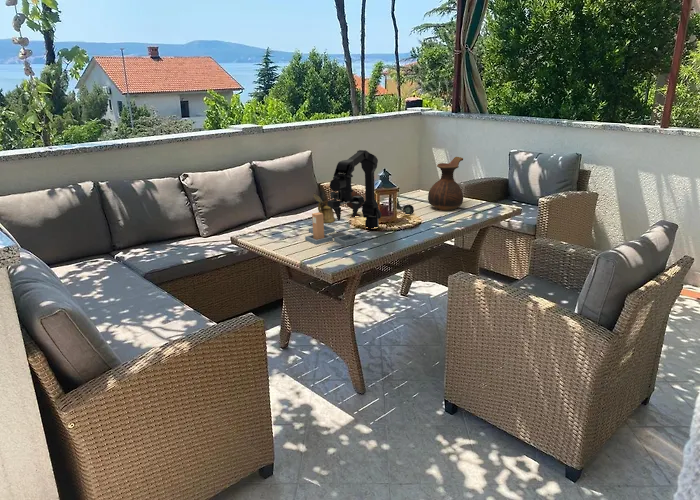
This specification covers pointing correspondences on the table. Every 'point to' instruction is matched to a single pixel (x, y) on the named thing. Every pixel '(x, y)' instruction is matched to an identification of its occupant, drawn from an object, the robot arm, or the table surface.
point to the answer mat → (337, 234)
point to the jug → (446, 188)
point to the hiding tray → (319, 241)
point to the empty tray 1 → (326, 230)
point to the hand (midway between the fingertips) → (346, 218)
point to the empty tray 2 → (348, 239)
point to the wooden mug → (324, 209)
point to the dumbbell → (406, 208)
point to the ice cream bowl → (351, 204)
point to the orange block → (318, 226)
